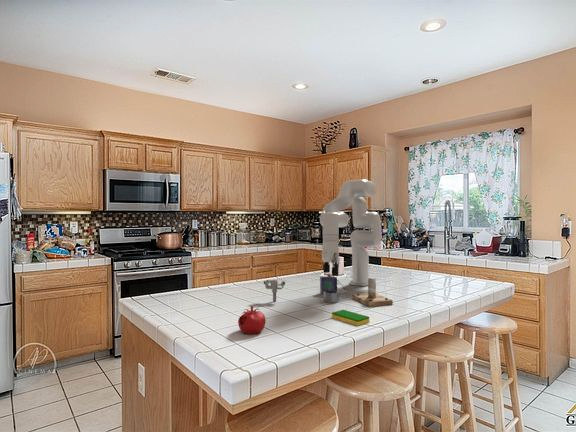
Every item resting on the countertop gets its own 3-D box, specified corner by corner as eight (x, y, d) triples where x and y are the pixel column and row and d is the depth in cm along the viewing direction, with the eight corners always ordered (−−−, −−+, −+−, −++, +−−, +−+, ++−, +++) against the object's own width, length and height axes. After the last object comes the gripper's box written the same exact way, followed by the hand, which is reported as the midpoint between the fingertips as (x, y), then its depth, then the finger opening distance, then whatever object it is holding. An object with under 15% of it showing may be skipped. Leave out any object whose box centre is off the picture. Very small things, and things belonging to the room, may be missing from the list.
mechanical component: (284, 302, 169) (284, 281, 169) (263, 301, 171) (263, 281, 171) (285, 301, 172) (285, 280, 172) (265, 300, 174) (264, 279, 174)
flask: (319, 293, 187) (319, 273, 187) (321, 292, 190) (321, 272, 190) (336, 295, 183) (336, 274, 183) (338, 294, 186) (338, 273, 186)
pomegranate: (265, 327, 135) (266, 302, 135) (265, 336, 125) (265, 309, 125) (239, 327, 134) (239, 302, 134) (236, 335, 124) (236, 309, 124)
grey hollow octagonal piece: (321, 299, 174) (321, 290, 174) (334, 298, 176) (334, 289, 176) (327, 303, 167) (327, 294, 167) (341, 302, 170) (341, 292, 169)
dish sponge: (343, 315, 150) (343, 309, 150) (369, 322, 140) (369, 316, 140) (331, 318, 146) (331, 312, 146) (358, 326, 135) (358, 320, 135)
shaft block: (352, 298, 176) (352, 276, 176) (374, 296, 180) (374, 274, 180) (369, 306, 161) (369, 282, 161) (392, 304, 165) (392, 280, 165)
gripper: (316, 237, 178) (316, 271, 178) (331, 239, 162) (331, 277, 162) (330, 237, 181) (330, 271, 181) (346, 239, 164) (346, 276, 164)
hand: (330, 273), depth 171 cm, fingers open, 9 cm apart
